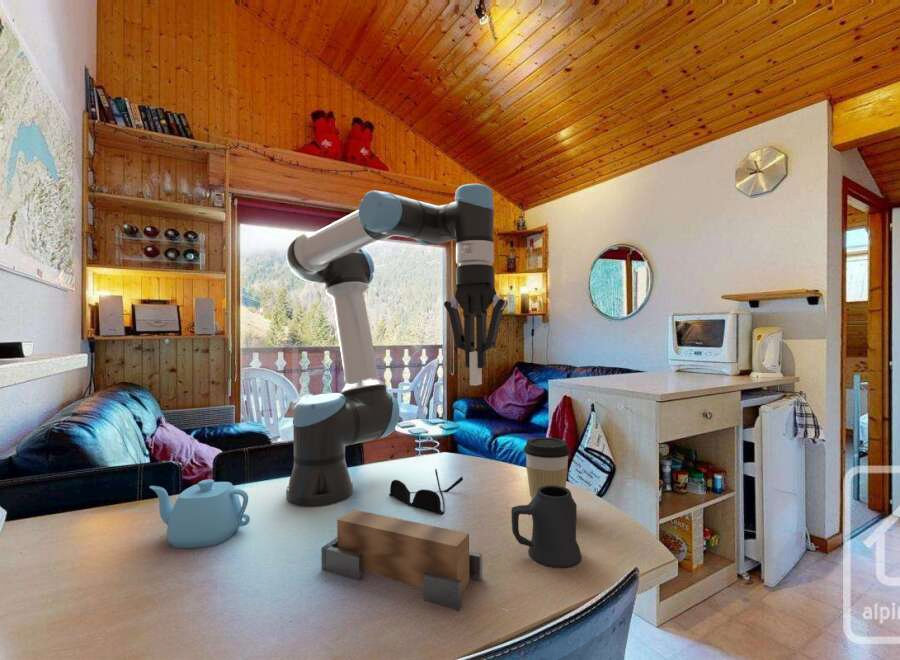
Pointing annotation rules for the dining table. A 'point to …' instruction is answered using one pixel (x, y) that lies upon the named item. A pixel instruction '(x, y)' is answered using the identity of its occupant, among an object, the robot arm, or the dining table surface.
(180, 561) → the dining table surface
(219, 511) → the teapot
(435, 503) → the sunglasses
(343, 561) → the slat support bracket
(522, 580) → the dining table surface
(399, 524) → the walnut slat
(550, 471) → the coffee cup
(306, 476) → the robot arm
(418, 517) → the dining table surface
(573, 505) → the mug
